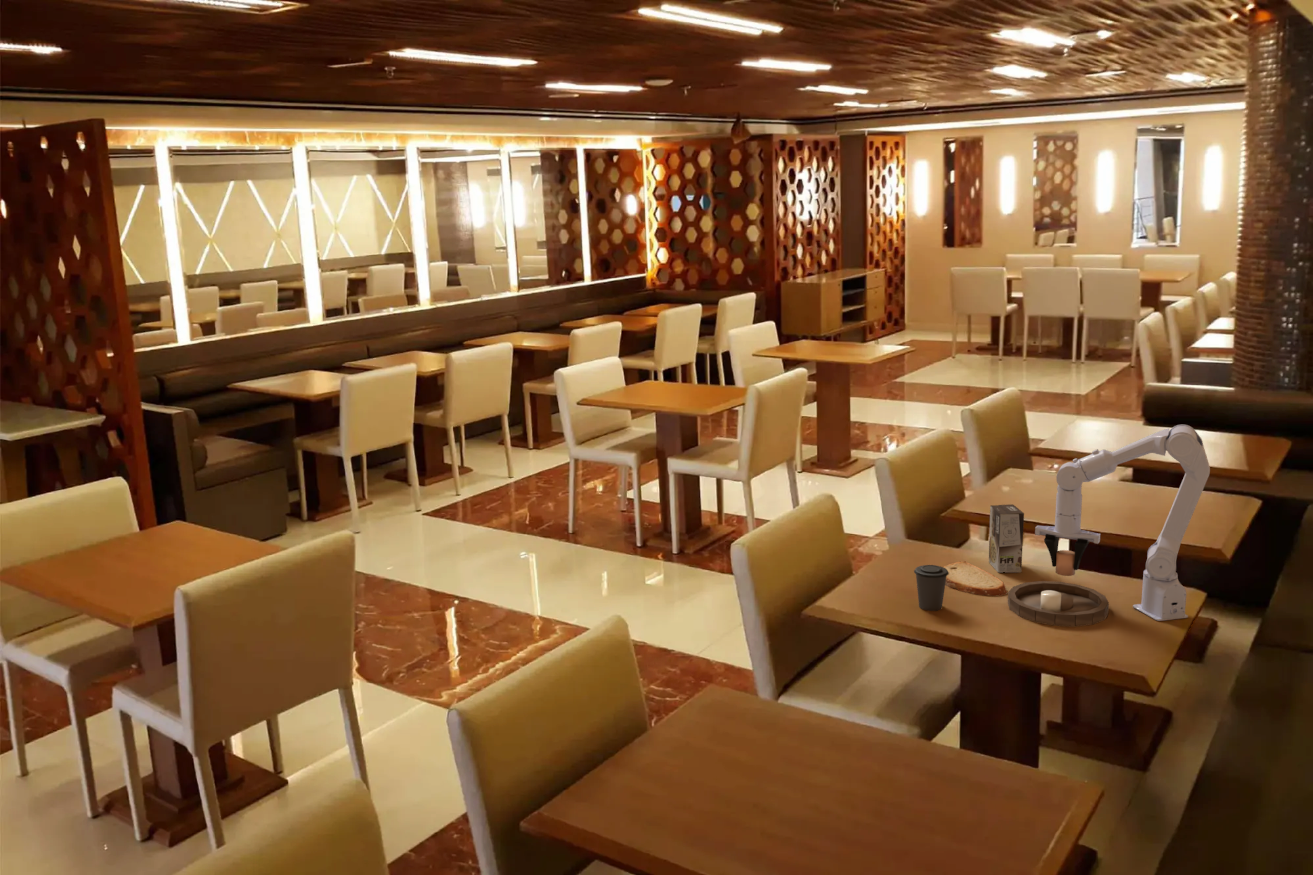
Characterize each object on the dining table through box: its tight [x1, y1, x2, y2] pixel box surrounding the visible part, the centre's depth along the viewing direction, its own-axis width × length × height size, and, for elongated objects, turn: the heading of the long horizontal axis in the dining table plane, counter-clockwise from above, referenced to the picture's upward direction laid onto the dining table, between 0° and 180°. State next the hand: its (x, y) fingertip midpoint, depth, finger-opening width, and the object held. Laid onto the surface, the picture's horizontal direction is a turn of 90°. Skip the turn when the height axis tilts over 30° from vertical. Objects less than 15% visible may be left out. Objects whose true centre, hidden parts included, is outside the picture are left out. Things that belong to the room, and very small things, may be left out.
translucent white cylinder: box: [1040, 590, 1061, 612], centre depth 247 cm, size 4×4×5 cm
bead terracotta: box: [1055, 549, 1076, 577], centre depth 256 cm, size 4×4×5 cm
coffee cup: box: [913, 564, 949, 612], centre depth 255 cm, size 8×8×10 cm
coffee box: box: [988, 503, 1025, 574], centre depth 280 cm, size 9×6×16 cm
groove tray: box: [1007, 580, 1110, 627], centre depth 252 cm, size 22×22×3 cm
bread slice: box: [943, 560, 1008, 597], centre depth 272 cm, size 18×18×4 cm
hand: (1065, 567), depth 256 cm, fingers closed on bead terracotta, 4 cm apart
